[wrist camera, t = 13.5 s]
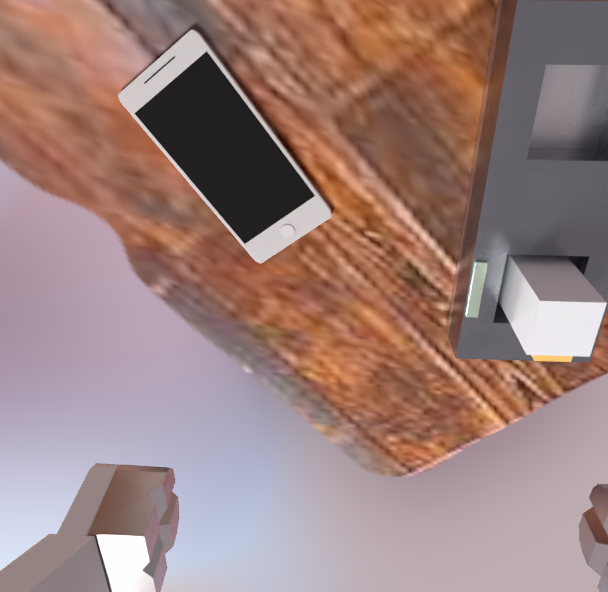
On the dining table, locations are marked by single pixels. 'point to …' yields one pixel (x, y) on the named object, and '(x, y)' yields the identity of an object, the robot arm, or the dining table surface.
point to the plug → (550, 306)
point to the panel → (535, 164)
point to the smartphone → (224, 148)
